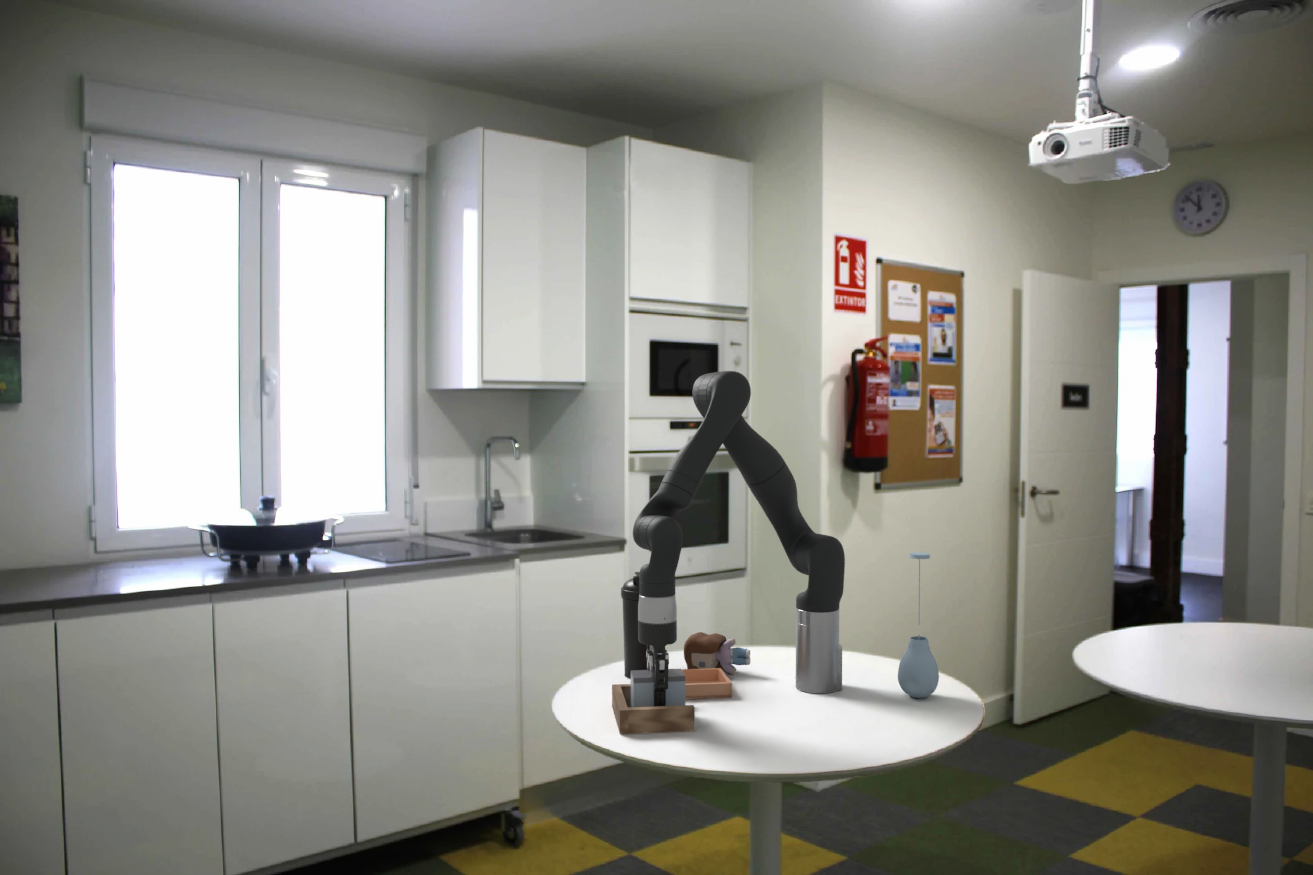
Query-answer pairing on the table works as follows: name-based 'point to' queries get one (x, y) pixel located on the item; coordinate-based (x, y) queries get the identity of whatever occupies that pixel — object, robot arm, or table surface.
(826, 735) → the table surface
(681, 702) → the grey rectangular prism
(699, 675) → the tray
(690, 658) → the toy
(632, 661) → the water bottle
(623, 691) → the bay
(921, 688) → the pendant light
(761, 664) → the table surface
